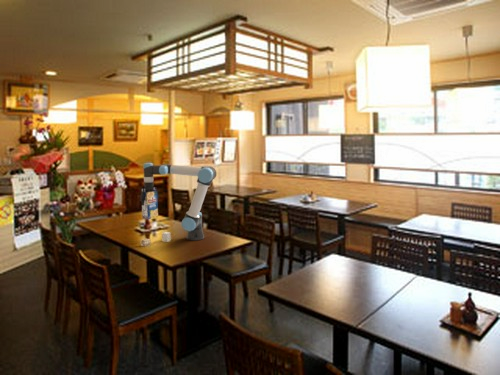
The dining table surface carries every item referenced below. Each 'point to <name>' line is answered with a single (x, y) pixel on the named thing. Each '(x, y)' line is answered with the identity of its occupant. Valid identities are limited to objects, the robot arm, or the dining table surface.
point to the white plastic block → (166, 236)
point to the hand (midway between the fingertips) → (149, 208)
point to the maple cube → (145, 242)
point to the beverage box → (150, 205)
